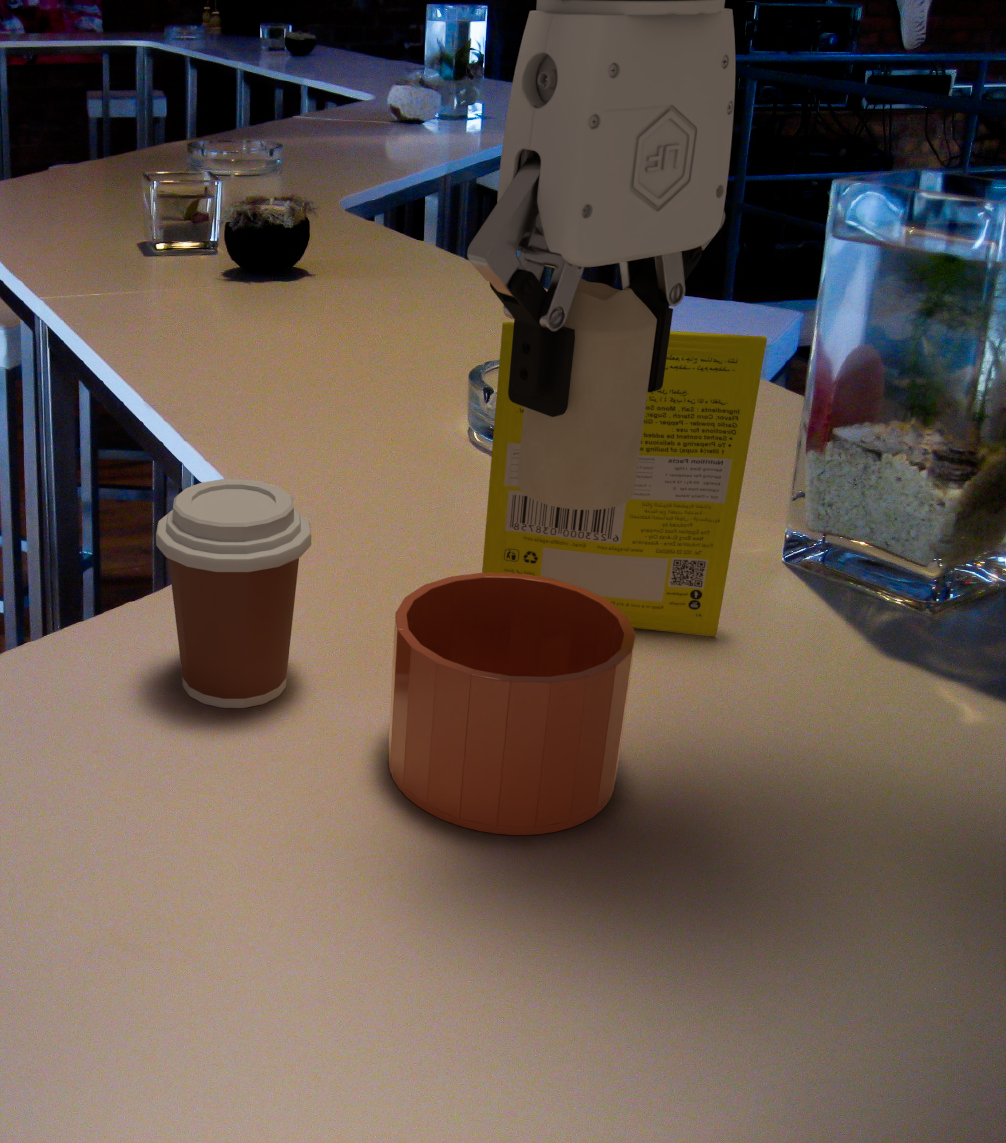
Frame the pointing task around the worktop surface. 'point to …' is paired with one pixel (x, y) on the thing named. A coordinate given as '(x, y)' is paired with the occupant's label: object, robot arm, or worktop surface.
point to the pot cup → (508, 701)
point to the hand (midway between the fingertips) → (585, 392)
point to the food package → (643, 493)
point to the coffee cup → (234, 587)
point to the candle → (594, 407)
